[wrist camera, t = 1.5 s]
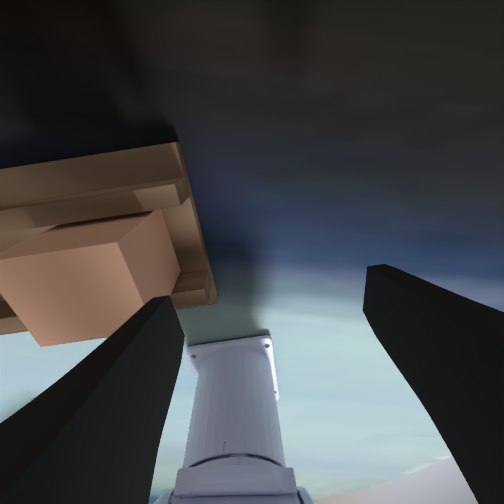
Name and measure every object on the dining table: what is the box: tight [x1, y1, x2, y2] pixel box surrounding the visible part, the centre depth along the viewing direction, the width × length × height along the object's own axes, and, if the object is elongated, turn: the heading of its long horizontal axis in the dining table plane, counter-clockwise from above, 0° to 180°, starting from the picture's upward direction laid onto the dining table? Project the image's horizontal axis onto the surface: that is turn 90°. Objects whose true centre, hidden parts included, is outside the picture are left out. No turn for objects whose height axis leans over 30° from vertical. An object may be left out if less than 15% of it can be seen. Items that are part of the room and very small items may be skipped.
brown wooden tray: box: [0, 142, 218, 335], centre depth 15 cm, size 12×22×5 cm, turn 98°
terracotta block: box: [0, 209, 181, 347], centre depth 14 cm, size 5×6×6 cm
